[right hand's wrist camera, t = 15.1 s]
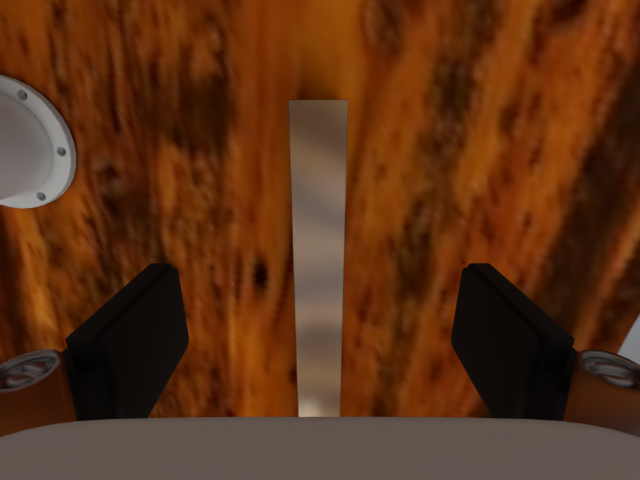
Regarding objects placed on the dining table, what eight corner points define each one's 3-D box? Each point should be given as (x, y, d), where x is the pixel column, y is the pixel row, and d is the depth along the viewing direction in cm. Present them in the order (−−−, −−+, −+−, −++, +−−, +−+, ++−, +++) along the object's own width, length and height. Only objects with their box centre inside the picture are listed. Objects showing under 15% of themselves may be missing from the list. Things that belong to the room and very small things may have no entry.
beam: (294, 102, 32) (288, 99, 26) (342, 102, 32) (348, 99, 26) (305, 509, 53) (303, 567, 46) (334, 509, 53) (336, 567, 46)
